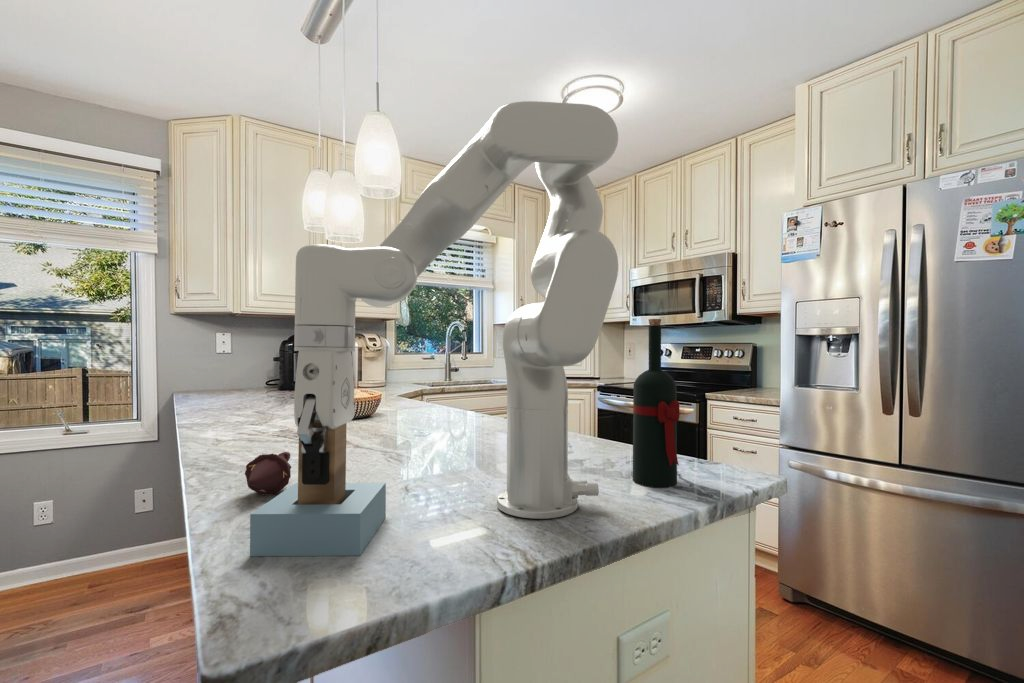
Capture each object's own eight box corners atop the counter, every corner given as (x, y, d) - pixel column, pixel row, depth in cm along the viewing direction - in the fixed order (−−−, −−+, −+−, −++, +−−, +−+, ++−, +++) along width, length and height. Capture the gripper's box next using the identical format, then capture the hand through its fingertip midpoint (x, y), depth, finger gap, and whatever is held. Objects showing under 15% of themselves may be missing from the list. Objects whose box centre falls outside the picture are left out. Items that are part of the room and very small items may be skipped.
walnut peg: (345, 504, 67) (346, 416, 67) (333, 516, 62) (335, 422, 63) (311, 504, 67) (312, 416, 67) (297, 515, 62) (298, 421, 62)
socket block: (385, 517, 71) (385, 482, 71) (360, 555, 58) (360, 513, 58) (295, 517, 71) (295, 483, 71) (249, 556, 58) (250, 514, 58)
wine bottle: (654, 493, 83) (654, 316, 83) (624, 477, 93) (625, 319, 93) (694, 489, 85) (694, 317, 85) (661, 474, 95) (661, 320, 95)
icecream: (280, 465, 76) (310, 452, 91) (232, 454, 75) (270, 443, 90) (267, 510, 75) (299, 490, 90) (218, 499, 75) (258, 481, 89)
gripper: (331, 340, 57) (329, 498, 56) (370, 341, 73) (368, 463, 73) (266, 339, 56) (263, 498, 56) (320, 340, 73) (318, 462, 73)
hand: (323, 476), depth 65 cm, fingers closed on walnut peg, 4 cm apart
